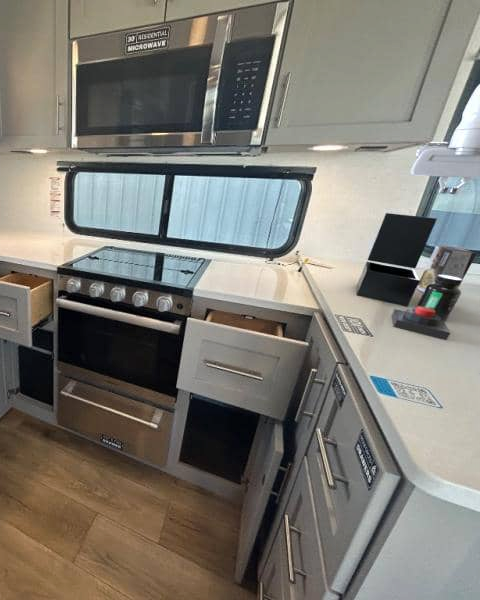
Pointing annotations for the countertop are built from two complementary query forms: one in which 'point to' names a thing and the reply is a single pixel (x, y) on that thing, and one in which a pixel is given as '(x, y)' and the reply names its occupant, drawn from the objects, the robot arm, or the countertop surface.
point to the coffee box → (446, 264)
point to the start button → (424, 311)
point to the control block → (420, 323)
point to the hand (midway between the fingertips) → (447, 193)
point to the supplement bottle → (441, 295)
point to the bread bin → (387, 283)
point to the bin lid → (401, 239)
